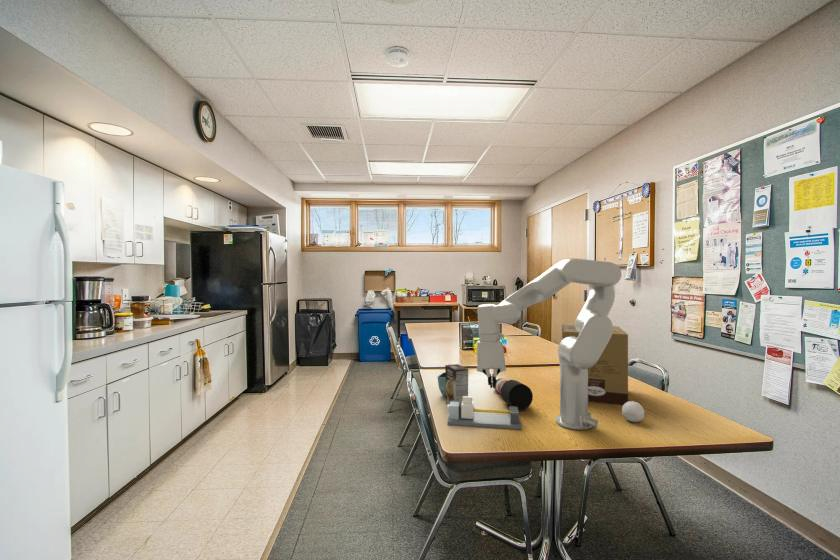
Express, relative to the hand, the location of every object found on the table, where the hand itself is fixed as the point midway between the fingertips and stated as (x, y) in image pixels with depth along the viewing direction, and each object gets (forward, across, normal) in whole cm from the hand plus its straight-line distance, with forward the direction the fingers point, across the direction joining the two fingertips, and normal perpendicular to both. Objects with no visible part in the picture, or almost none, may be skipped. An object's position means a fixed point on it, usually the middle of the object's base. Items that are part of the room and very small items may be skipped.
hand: (492, 386), depth 137 cm
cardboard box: (+16, -45, -41) cm, 63 cm away
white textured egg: (+16, -51, -8) cm, 54 cm away
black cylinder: (+14, -6, -28) cm, 32 cm away
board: (+13, +4, 0) cm, 14 cm away
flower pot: (+12, +20, -29) cm, 37 cm away
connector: (+11, +15, 0) cm, 18 cm away
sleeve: (+11, +10, 0) cm, 15 cm away
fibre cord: (+9, +2, 0) cm, 10 cm away
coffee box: (+13, +15, -16) cm, 25 cm away
